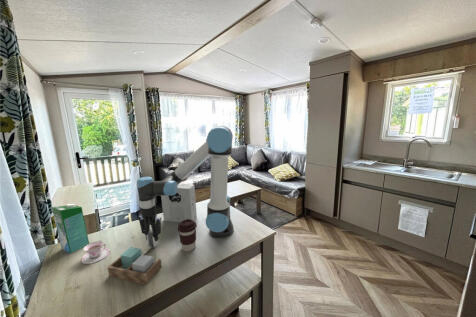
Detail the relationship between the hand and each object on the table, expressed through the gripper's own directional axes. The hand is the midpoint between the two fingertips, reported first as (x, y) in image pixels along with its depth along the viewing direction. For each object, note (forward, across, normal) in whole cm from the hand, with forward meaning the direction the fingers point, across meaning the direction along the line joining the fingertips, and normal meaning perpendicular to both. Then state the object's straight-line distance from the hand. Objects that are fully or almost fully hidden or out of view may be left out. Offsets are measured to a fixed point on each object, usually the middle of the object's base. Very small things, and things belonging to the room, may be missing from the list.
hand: (153, 245), depth 105 cm
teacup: (+1, +24, +13) cm, 28 cm away
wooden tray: (+1, -4, +17) cm, 18 cm away
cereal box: (+1, 0, -29) cm, 29 cm away
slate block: (+1, -9, +18) cm, 20 cm away
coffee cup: (+1, -20, -3) cm, 20 cm away
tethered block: (+1, 0, +8) cm, 8 cm away
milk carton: (+1, +43, +10) cm, 44 cm away
